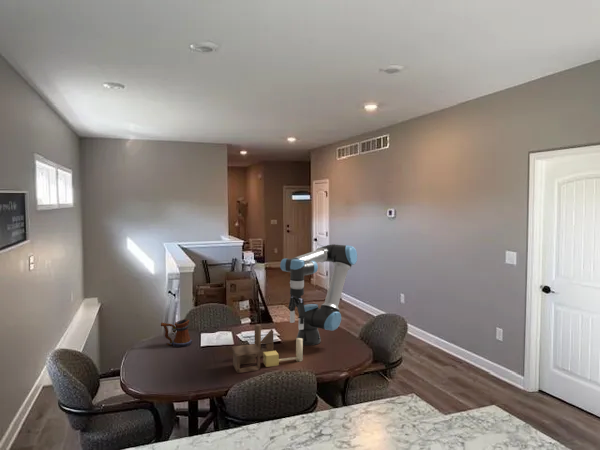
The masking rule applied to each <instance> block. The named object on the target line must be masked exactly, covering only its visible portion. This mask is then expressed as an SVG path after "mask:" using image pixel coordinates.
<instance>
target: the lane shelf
mask: <svg viewBox="0 0 600 450" xmlns="http://www.w3.org/2000/svg"><path fill="white" fill-rule="evenodd" d="M231 349H232V366H233V368H234V370H235V371H236V373H237V374H239V373H240V374H241V373H248V372H256V371H260V370H261V357H260V353H261V350H260V349H259V348H258V346H257V345H256V344H255V343H251V344H243V345H234V346H231ZM255 354H257V357H255ZM256 360H257V361H256ZM256 362H257V364H256V365H252V366H245V367H241V365H242V366H243V365H248V364H255V363H256Z"/></svg>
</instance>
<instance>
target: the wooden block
mask: <svg viewBox="0 0 600 450" xmlns="http://www.w3.org/2000/svg"><path fill="white" fill-rule="evenodd" d="M254 344H256V345H257V346H258V348H259V349H260V350H261V353H260V358H261V357H262V358H263V352H268V351H274V330H273V329H270V330H269V331H268V332H267V333H266V334H265V336H264V337H263V338H262V325H261V324H260V323H259V324H258V323H257V324H254ZM262 345H265V348H263V347H262ZM255 358H257V354H255Z"/></svg>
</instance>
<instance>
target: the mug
mask: <svg viewBox="0 0 600 450" xmlns="http://www.w3.org/2000/svg"><path fill="white" fill-rule="evenodd" d="M189 324H190V319H189V318H188V319H187V318H184V319H183V318H182V319H180V320H177V321H176V322H175V323H174V324H173V323H167V322H166V323H165V322H161V323H160V326H161V327H163V328H164V331H165V333H164V337H165V339H167V340H169V342H167V343H166V345H167V346H173V347H174V348H175V347H176V348H185V347H188V346H190V345H191V344H192V342H193V340H192V339H191V337H190V333H189ZM168 327H172V328H171V330H172V332H173V333H174V334H175V337H174V339H172V338H171V337H170V336H169V328H168Z"/></svg>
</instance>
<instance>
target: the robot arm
mask: <svg viewBox="0 0 600 450" xmlns="http://www.w3.org/2000/svg"><path fill="white" fill-rule="evenodd" d="M357 261H358V253H357V249H356V248H355V247H354V246H352V245H347V244H346V245H344V244H334V243H333V244H332V243H331V244H327V245H324V246H320V247H318V248H316V249H315V250H313V251H310V252H307V253H304V254H301V255H298V256H295V257H292V258H282V259H281V260H280V264H279V265H280V266H279V267H280V269H281V271H282V272H286V273H289V274H290V275H289V276H290V281H289V284H290V285H289V287H290V288H289V295H290V298H289V302H288V309H289V323H291V324H292V323H296V322H295V321H296V308H297V313H298V317H297V318H298V326H297V327H298V332H297V336H296V339H297V338H302V339H303V346H315V345H319V344H320V343H321V335H320V332H319V329H323V330H326V331H330V332H331V331H335V330H337V329H338V328H339V327H340V325H341V321H342V314H341V312H340V308H339V305H340V301H341V298H342V293H343V289H344V285H345V282H346V278H347V274H348V271H349V270H351V269H352V267H353V265H356V263H357ZM324 262H330V263H332V264H333V272H332V274H331V278H330V282H329V286H328V289H327V293H326V296H325V299H324V303H322V304H320V308H319V304H315V303H310V304H309V303H308V304H304V303H305V301H304V298H302V296H304V295H305V294H304V293H305V288H304V287H305V276H309V275H313V274H315V273H317V271H318V269H319V265H318V263H324Z"/></svg>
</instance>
